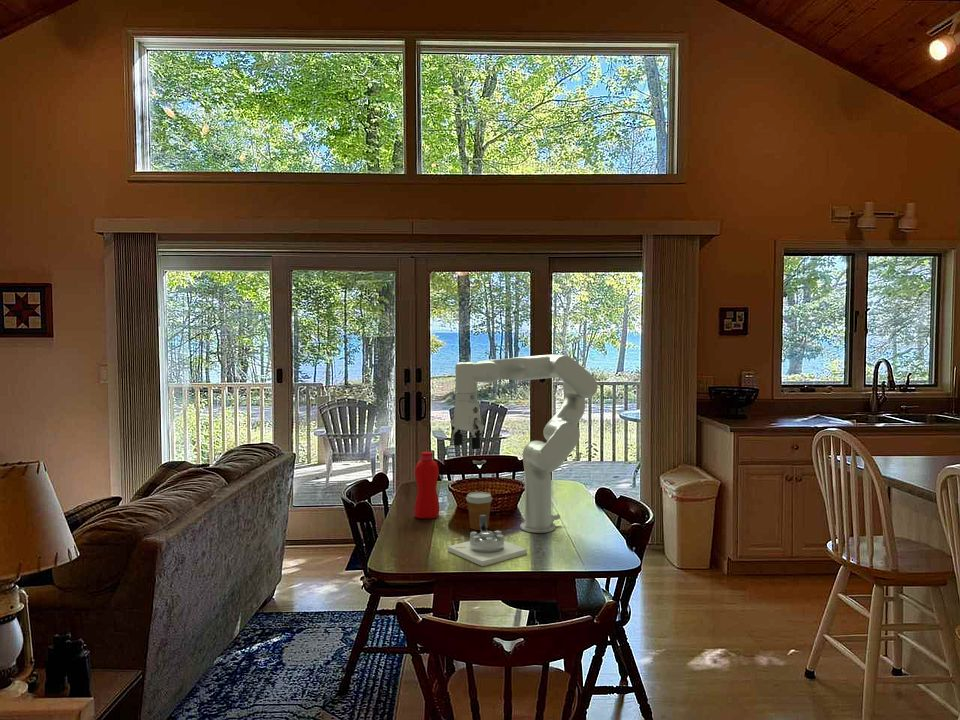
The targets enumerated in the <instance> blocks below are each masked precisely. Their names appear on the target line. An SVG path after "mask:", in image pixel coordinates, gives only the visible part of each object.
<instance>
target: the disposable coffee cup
mask: <svg viewBox="0 0 960 720" xmlns="http://www.w3.org/2000/svg"><path fill="white" fill-rule="evenodd" d="M465 499H466V501H467V510H468V515H469V516H468V517H469V524H470V529H472V530H473V531H477V530H478V531H481V528H480V515H487V528H486V529H487V530H488V528H489V522H490V513H491V506H492V500H493V497H492V495H491V493H489V492H485V491H474V492H469V493H468V494H467V495H466V497H465Z"/></svg>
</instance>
